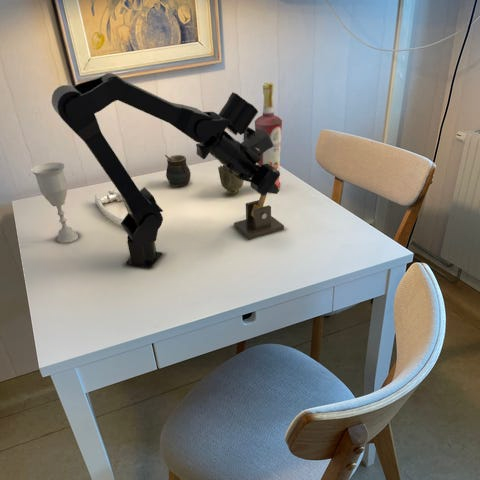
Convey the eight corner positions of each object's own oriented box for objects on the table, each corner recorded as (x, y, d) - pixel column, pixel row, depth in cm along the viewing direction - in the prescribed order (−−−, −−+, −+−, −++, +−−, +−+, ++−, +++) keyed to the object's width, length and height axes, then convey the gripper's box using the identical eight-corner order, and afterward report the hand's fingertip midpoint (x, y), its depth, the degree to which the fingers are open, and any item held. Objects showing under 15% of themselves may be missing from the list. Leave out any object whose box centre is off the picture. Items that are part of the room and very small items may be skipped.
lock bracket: (248, 239, 119) (247, 215, 115) (233, 226, 124) (232, 203, 120) (284, 229, 122) (284, 206, 118) (268, 217, 128) (268, 194, 124)
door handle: (119, 194, 144) (162, 223, 127) (88, 204, 139) (128, 235, 123) (117, 186, 142) (160, 214, 126) (85, 195, 137) (126, 225, 121)
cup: (216, 191, 142) (214, 164, 137) (239, 186, 145) (237, 159, 140) (226, 201, 137) (224, 173, 132) (250, 195, 139) (249, 168, 134)
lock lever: (269, 184, 115) (277, 185, 116) (258, 177, 118) (266, 178, 119) (257, 220, 119) (265, 221, 120) (247, 212, 122) (255, 213, 123)
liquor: (267, 195, 139) (266, 88, 122) (250, 188, 143) (247, 84, 126) (286, 188, 142) (288, 83, 125) (269, 181, 147) (269, 79, 130)
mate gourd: (196, 182, 149) (193, 149, 143) (181, 191, 144) (177, 157, 138) (177, 178, 152) (173, 145, 146) (162, 186, 147) (157, 153, 141)
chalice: (52, 246, 120) (30, 175, 109) (53, 234, 125) (32, 164, 114) (83, 241, 121) (64, 170, 110) (82, 229, 126) (64, 160, 115)
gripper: (271, 131, 100) (314, 172, 110) (231, 110, 113) (273, 149, 124) (239, 176, 102) (284, 213, 112) (203, 151, 115) (246, 186, 126)
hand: (272, 188), depth 119 cm, fingers closed on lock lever, 5 cm apart
